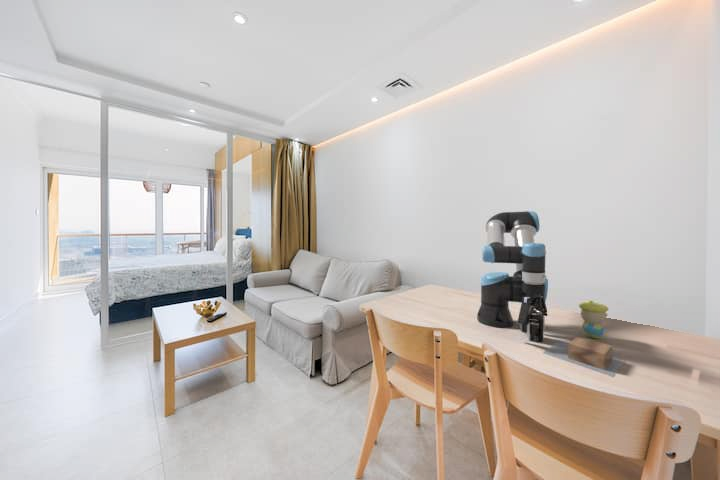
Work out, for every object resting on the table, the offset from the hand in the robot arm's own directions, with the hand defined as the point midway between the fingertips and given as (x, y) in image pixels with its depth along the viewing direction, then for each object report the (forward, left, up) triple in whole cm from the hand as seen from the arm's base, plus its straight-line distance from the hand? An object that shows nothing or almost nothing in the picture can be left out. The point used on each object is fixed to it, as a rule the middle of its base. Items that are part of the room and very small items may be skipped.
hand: (532, 335), depth 101 cm
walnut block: (+18, -3, -1) cm, 18 cm away
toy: (+13, +22, -3) cm, 26 cm away
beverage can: (0, 0, -3) cm, 3 cm away
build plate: (+16, -3, -2) cm, 16 cm away
